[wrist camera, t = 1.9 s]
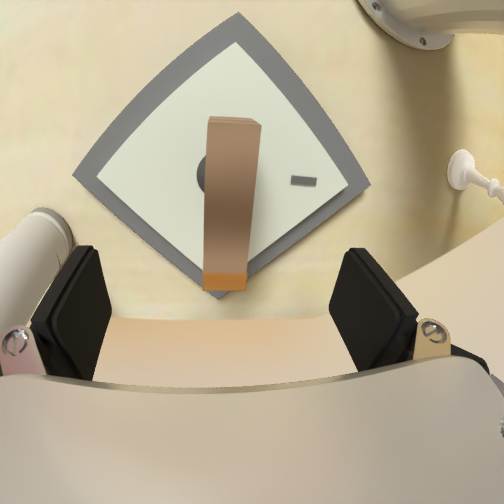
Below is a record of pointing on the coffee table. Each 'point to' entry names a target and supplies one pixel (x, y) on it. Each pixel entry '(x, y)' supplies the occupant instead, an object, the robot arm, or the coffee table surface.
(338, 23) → the coffee table surface
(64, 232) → the travel mug
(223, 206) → the t key
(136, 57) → the coffee table surface
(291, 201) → the cover
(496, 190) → the chess piece
